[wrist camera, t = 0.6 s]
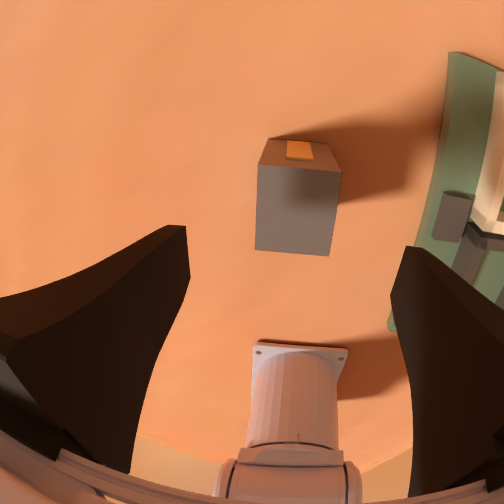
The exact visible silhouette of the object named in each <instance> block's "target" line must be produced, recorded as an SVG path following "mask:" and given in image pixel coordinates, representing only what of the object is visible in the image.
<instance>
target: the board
mask: <svg viewBox="0 0 504 504" xmlns="http://www.w3.org/2000/svg"><path fill="white" fill-rule="evenodd" d="M414 247H421V248H424V249H425V250H427V251H428V252H430V253H431V254H433V255H434V256H435V257H437V258H438V259H439V260H441V261H442V262H443V263H444V264H446V265H447V266H448V267H449V268H451V269H452V270H453V271H454V272H455V273H457V274H458V275H459V276H460V277H462V278H463V279H464V280H465V281H466V282H468V283H469V284H470V285H471V286H473V287H474V288H475V289H476V290H478V291H479V292H480V293H481V294H483V295H484V296H485V297H486V298H488V299H489V300H490V301H492V302H493V303H494V304H496V305H497V306H499V307H500V308H501V309H503V310H504V72H503V71H501V70H499V69H497V68H495V67H493V66H490V65H488V64H486V63H483V62H481V61H479V60H476V59H474V58H471V57H469V56H466V55H464V54H461V53H458V52H449V57H448V72H447V84H446V94H445V103H444V111H443V118H442V125H441V132H440V138H439V144H438V150H437V155H436V160H435V165H434V170H433V175H432V179H431V184H430V188H429V193H428V197H427V201H426V205H425V209H424V213H423V216H422V220H421V224H420V227H419V231H418V234H417V238H416V241H415V245H414ZM387 325H388V328H389V331H390V332H397V330H396V327H395V323H394V318H393V312H392V311H391V314H390V316H389V319H388V321H387Z"/></svg>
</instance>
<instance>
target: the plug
mask: <svg viewBox="0 0 504 504" xmlns="http://www.w3.org/2000/svg"><path fill="white" fill-rule="evenodd" d="M341 177H342V171H341V169H340V167H339V165H338V163H337V161H336V159H335V157H334V155H333V153H332V151H331V149H330V147H329V145H328V144H323V143H314V142H303V141H292V140H279V139H268V140H267V143H266V145H265V148H264V150H263V153H262V156H261V158H260V161H259V163H258V175H257V204H256V232H255V250H261V251H272V252H284V253H295V254H307V255H318V256H329V253H330V248H331V242H332V236H333V230H334V224H335V218H336V212H337V205H338V199H339V192H340V185H341Z"/></svg>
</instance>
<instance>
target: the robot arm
mask: <svg viewBox="0 0 504 504" xmlns="http://www.w3.org/2000/svg"><path fill="white" fill-rule="evenodd" d="M190 278H191V276H190V267H189V257H188V246H187V235H186V226H179V225H167V226H164V227H162V228H160V229H158V230H156V231H154V232H152V233H151V234H149V235H147V236H145V237H144V238H142V239H140V240H138V241H137V242H135V243H133V244H131V245H130V246H128V247H126V248H124V249H123V250H121V251H119V252H117V253H115V254H113V255H111V256H110V257H108V258H106V259H104V260H102V261H100V262H99V263H97V264H95V265H93V266H90V267H88V268H86V269H84V270H82V271H80V272H77V273H75V274H73V275H71V276H68V277H66V278H63V279H60V280H58V281H55V282H52V283H49V284H47V285H44V286H41V287H38V288H35V289H32V290H29V291H25V292H22V293H18V294H14V295H10V296H6V297H2V298H0V504H114V503H112V502H110V501H107V500H106V498H105V497H104V495H106V496H108V497H111V498H113V499H116V500H119V501H121V502H124V503H127V504H362V481H361V475H360V471H359V469H358V468H357V467H356V466H354V464H353V463H352V462H351V461H346V462H344V460H343V450H339V447H338V409H337V387H336V385H337V382H338V380H339V377H340V375H341V372H342V370H343V367H344V365H345V362H346V360H347V357H348V350H347V349H344V348H328V347H312V346H299V345H287V344H276V343H265V342H256V343H255V344H254V347H253V365H252V387H251V401H252V405H251V412H250V418H249V424H248V430H247V436H246V443H245V448H240V449H239V454H238V459H233V458H230V459H229V460H227V462H226V463H224V464H223V465H222V466H221V467H220V468H219V471H218V472H217V475H216V478H215V482H214V486H213V491H212V496H209V495H203V494H198V493H194V492H189V491H184V490H180V489H176V488H171V487H167V486H164V485H160V484H156V483H153V482H150V481H146V480H143V479H139V478H137V477H133V476H130V475H127V474H129V473H130V468H131V461H132V454H133V448H134V442H135V437H136V432H137V428H138V423H139V418H140V414H141V410H142V406H143V402H144V399H145V395H146V391H147V388H148V384H149V381H150V378H151V374H152V371H153V368H154V365H155V362H156V360H157V357H158V355H159V352H160V350H161V348H162V346H163V344H164V341H165V339H166V337H167V335H168V333H169V331H170V329H171V327H172V324H173V322H174V320H175V318H176V316H177V314H178V312H179V309H180V307H181V305H182V303H183V300H184V297H185V294H186V291H187V288H188V284H189V281H190ZM390 298H391V305H392V312H393V318H394V323H395V327H396V330H397V334H398V338H399V341H400V345H401V349H402V352H403V356H404V360H405V364H406V368H407V372H408V377H409V382H410V388H411V398H412V410H413V459H412V470H411V478H410V487H409V492H408V498H404V499H398V500H391V501H383V502H374V503H363V504H504V310H503V309H501V308H500V307H499V306H497V305H496V304H494V303H493V302H492V301H490V300H489V299H488V298H486V297H485V296H484V295H483V294H481V293H480V292H479V291H478V290H476V289H475V288H474V287H473V286H471V285H470V284H469V283H468V282H466V281H465V280H464V279H463V278H462V277H460V276H459V275H458V274H457V273H455V272H454V271H453V270H452V269H451V268H449V267H448V266H447V265H446V264H444V263H443V262H442V261H441V260H439V259H438V258H437V257H435V256H434V255H433V254H431V253H430V252H428V251H427V250H425V249H424V248H421V247H412V246H406V248H405V251H404V254H403V257H402V261H401V264H400V267H399V270H398V273H397V276H396V279H395V282H394V285H393V288H392V291H391V294H390Z"/></svg>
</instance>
